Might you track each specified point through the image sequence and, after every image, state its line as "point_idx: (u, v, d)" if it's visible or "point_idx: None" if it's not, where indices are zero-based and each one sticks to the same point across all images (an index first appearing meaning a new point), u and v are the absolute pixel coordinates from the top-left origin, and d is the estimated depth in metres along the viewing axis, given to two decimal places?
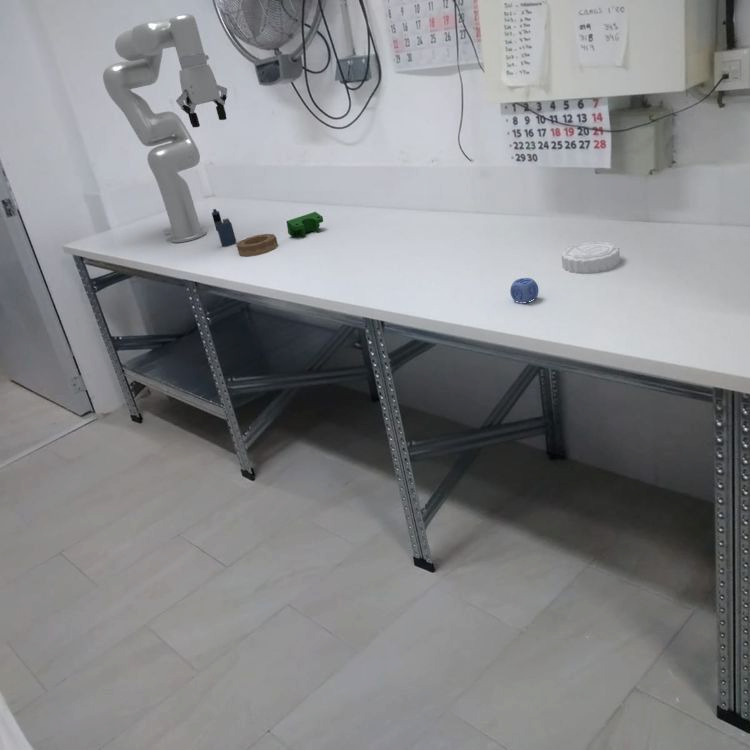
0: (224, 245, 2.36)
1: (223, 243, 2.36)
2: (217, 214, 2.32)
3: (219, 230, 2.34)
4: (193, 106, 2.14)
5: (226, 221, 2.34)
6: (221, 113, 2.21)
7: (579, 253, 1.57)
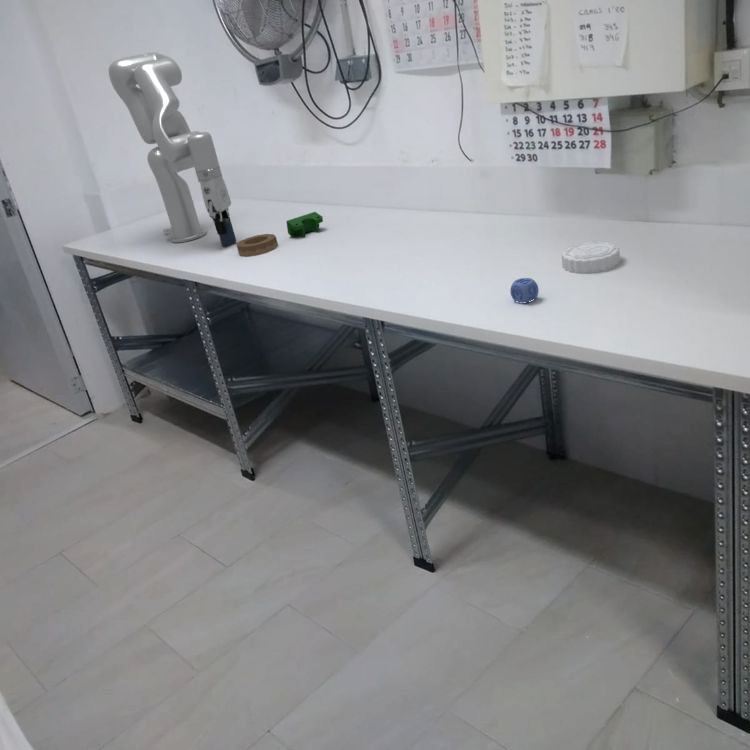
0: (224, 245, 2.36)
1: (223, 243, 2.36)
2: (217, 214, 2.32)
3: None
4: None
5: (226, 221, 2.34)
6: None
7: (579, 253, 1.57)
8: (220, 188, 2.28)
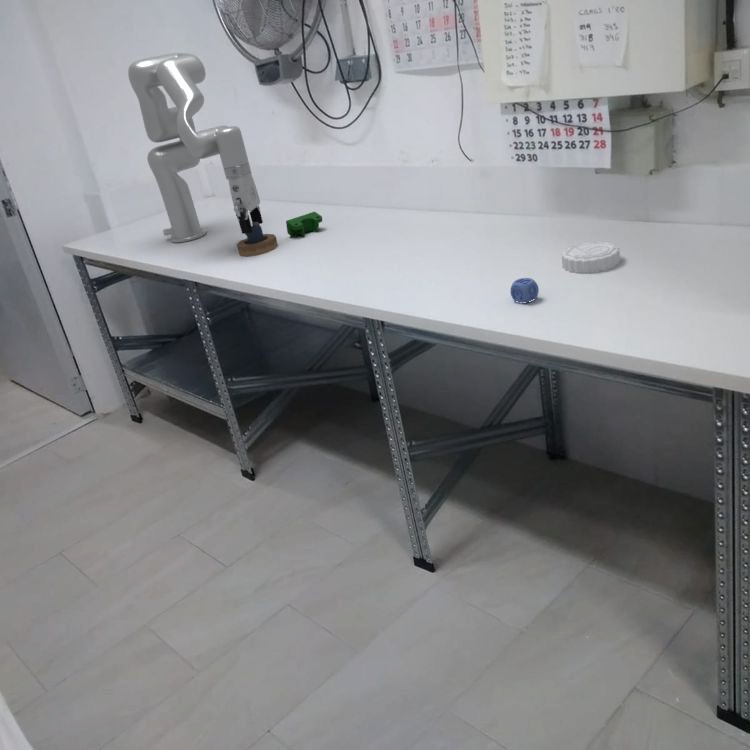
0: None
1: None
2: None
3: (248, 234, 2.21)
4: None
5: (256, 225, 2.21)
6: None
7: (579, 253, 1.57)
8: (249, 186, 2.15)
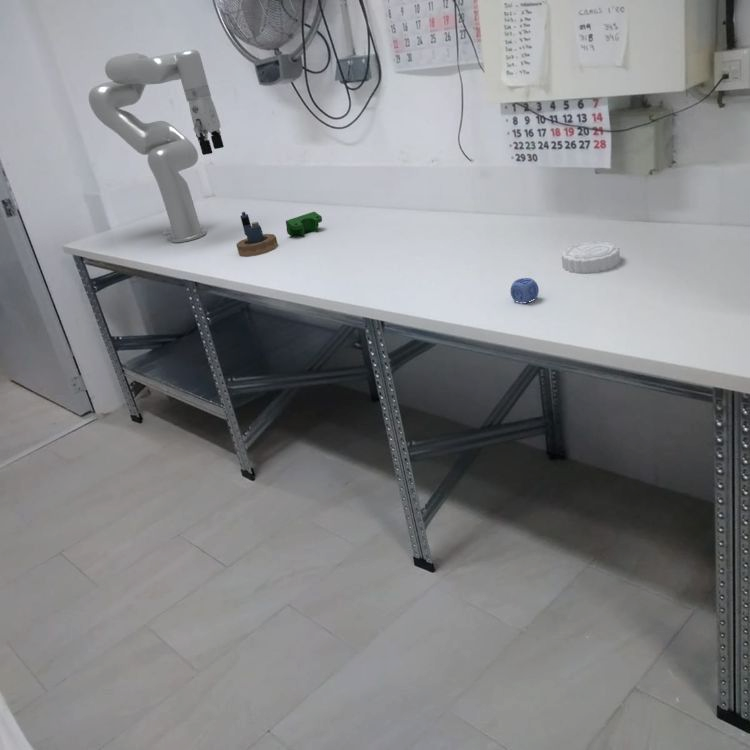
0: None
1: None
2: (246, 217, 2.19)
3: (248, 234, 2.21)
4: None
5: (255, 225, 2.21)
6: None
7: (579, 253, 1.57)
8: (209, 108, 2.26)
